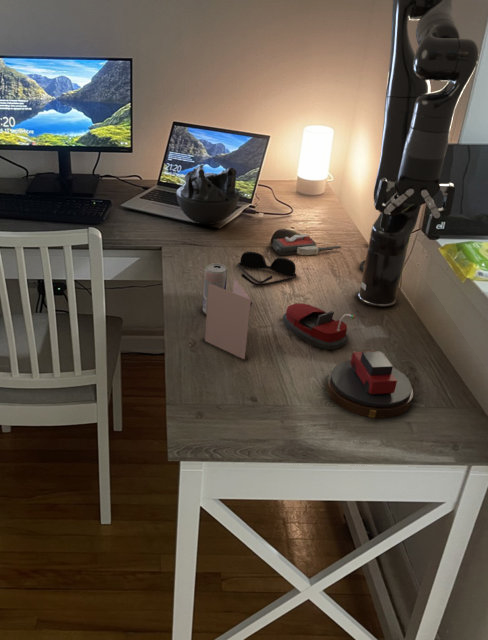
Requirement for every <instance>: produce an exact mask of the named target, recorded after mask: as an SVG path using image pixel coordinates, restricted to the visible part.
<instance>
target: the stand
mask: <svg viewBox="0 0 488 640" xmlns="http://www.w3.org/2000/svg"><path fill="white" fill-rule="evenodd" d="M331 373H332V370H330V372H329V374H328V376H327V382H326V391H327V394H328V396H329V397H330V399H331V400H332V401H333V402H334V403H335V404H337V405H338V406H339V407H341V408H343V409H344V410H346V411H349V412H351V413H353V414H356V415H358V416H363V417H368V418H371V419H376V418H377V419H378V418H379V419H386V418H393V417H398V416H399V415H402V414H403V413H406V412H407V410H409V408H410V407H411V405H412V401H413V398H414V389H413V388H412V391H411V394H410V397H409V398H408V399H407V400H406V401H405V402H403V403H401V404H398V405H395V406H389V407H375V406H369V405H364V404H361V403H357V402H355V401H352V400H350V399H348V398H346V397H345V396H343V395H342V394H340V393H339V392H338V391H337V390H336V389H335V388H334V386H333V385H332V382H331Z"/></svg>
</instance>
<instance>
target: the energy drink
mask: <svg viewBox="0 0 488 640" xmlns="http://www.w3.org/2000/svg"><path fill="white" fill-rule="evenodd" d="M227 281H228V269H227V266H226V265H224V264H221V263H209V264H208V265H206V268H205V270H204V281H203V285H204V286H203V295H202V297H203V298H202V312H203V313H204V314H205V315H207V303H208V288H209V283H210V284H213V285H215V286H218V287H220V288H223V289H225V290H227Z"/></svg>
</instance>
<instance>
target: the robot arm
mask: <svg viewBox="0 0 488 640" xmlns="http://www.w3.org/2000/svg"><path fill="white" fill-rule="evenodd" d="M391 8H392V9H391V31H390V32H391V35H390V36H391V37H390V56H389V65H388V71H387V72H388V74H387V82H386V89H385V98H384V110H383V123H382V124H383V125H382V135H381V149H380V157H379V163H378V168H377V173H376V178H375V182H374V183H375V184H374V187H373V188H374V189H373V201H374V202H373V203H374V204H373V205H374V209H375V210H376V211H378V212H379V215H378V217H377V219H376V220H375V221H374V223H373V224H372V227H371V230H370V236H369V241H368V245H367V251H366V256H365V260H362V261H361V262H360V264H359V268H360V269H361V271H362V276H361V282H360V287H359V290H358V291H359V292H358V294H357V298H358V300H359V301H360V302H362V303H363V304H366V305H368V306H371V307H375V308H389V307H392V306H394V305H395V304H396V301H397V296H398V291H399V287H400V282H401V278H402V274H403V269H404V265H405V261H406V256H407V253H408V247H409V243H410V239H411V236H412V233H413V231H414V230H415V227H416V225H417V221H418V218H419V214H420V211H421V208H422V206H423V205H425V204H426V205H427V207H428V209H429V212H430V213H431V214H429V217H428V221H427V225H426V229H425V234H426V236H431V235H432V234H434V233H435V232H436V230H437V226H438V223H439V219H440V218H442V217H444V216H445V217H449V216H451V213H452V208H453V202H454V197H455V192H456V187H455V185H454V183H452V182H447V183H440V178H441V175H442V171H443V166H444V161H445V158H446V155H447V150H448V146H449V142H450V141H449V140H450V132H451V127H452V124H453V118H454V114H455V110H456V108H457V105H458V102H459V100H460V98H461V96H462V94H463V92H464V90H465V88H466V86H467V84H468V83H469V81H470V79H471V77H472V75H473V73H474V71H475V70H476V67H477V65H478V63H479V59H480V57H479V56H480V51H479V46H478V45H477V42H476V41H475V40H473V39H470V38H461V35H460V30H459V29H458V26H457V24H456V20H455V17H454V0H392V7H391ZM415 21H418V22H417V24H416V29H415V39H416V42H417V48H416V51H415V50H414V48H413V46H412V43H411V39H410V36H409V27H408V26H409V25H408V23H409V22H415ZM430 81H439V82H447V83H446V85H444V87H443V88H441V89H440V90H436V91H432V92H431V83H430ZM439 192H441V194H442V196H443V200H442V201H443V202H442V207H439V208H438V207H437V205H436V204H435V201H434V199H433V197H435V195H437V194H438V193H439Z"/></svg>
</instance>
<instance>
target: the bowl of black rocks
mask: <svg viewBox="0 0 488 640" xmlns="http://www.w3.org/2000/svg"><path fill="white" fill-rule="evenodd" d="M204 166H205V164H200V165H199V166H196V167H194V168H193V169H192V170H191V171H188V172H187V173H186V174H185V175H184V177H183V178H184V181H185V182H184V183H183V185H182V186H180V187H179V188H177V190H176V200H177V203H178V207H179V208H180V209H181V211H182V213H183V214H184V215H185V216H186V217H187V218H188V219H190V220H191V221H192V222H195V223H197V222H199V223H198V224H201V223H205V224H204V225H213V224H212V223H215V224H218V223H221V222H223V221H225V220H226V219H227V218H228V217H230V216H231V215H232V213H233V212H234V211H235V209H236V208H237V205H238V204H239V200H240V192H239V191H238V190H237V188H236V183H237V182H236V181H237V170H236V169H235V168H234V167H228V168H226V169H225V170H223V169H222V171H220V172H219V173H214V172H205V169H204ZM201 225H202V224H201Z"/></svg>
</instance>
